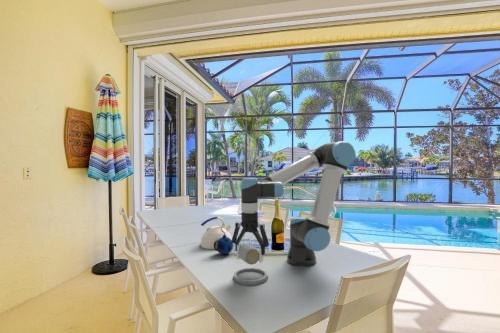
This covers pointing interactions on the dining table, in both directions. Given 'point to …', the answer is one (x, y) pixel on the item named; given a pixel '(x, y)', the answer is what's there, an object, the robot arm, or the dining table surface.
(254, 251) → the ceramic mug
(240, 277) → the ring coaster
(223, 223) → the kettle
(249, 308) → the dining table surface
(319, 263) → the dining table surface
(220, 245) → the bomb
